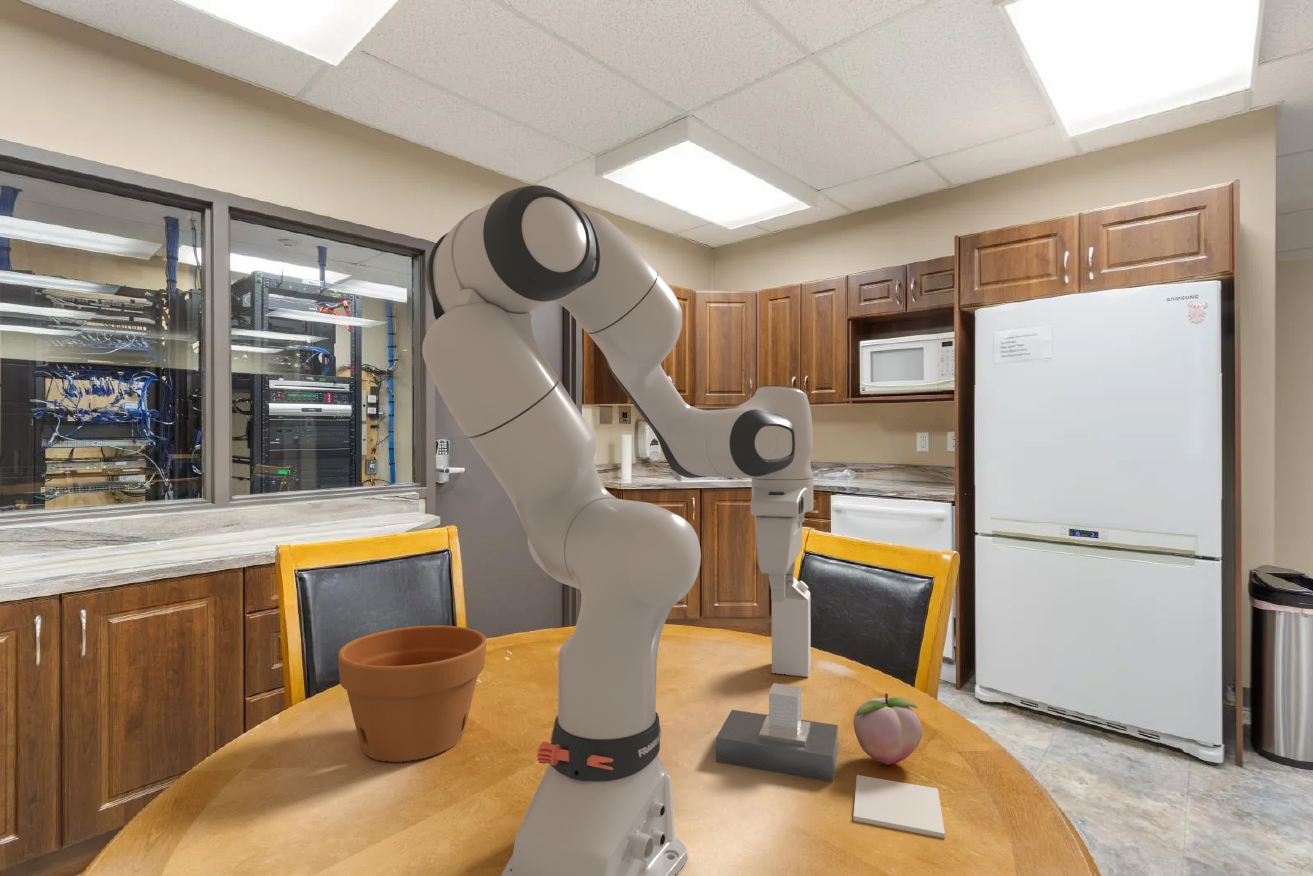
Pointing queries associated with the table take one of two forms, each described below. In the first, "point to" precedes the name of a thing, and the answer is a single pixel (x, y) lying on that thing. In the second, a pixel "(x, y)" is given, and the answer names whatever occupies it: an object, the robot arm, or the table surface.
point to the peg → (785, 716)
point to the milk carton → (792, 632)
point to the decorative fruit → (887, 729)
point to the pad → (898, 806)
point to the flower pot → (411, 688)
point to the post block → (777, 748)
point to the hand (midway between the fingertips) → (783, 593)
